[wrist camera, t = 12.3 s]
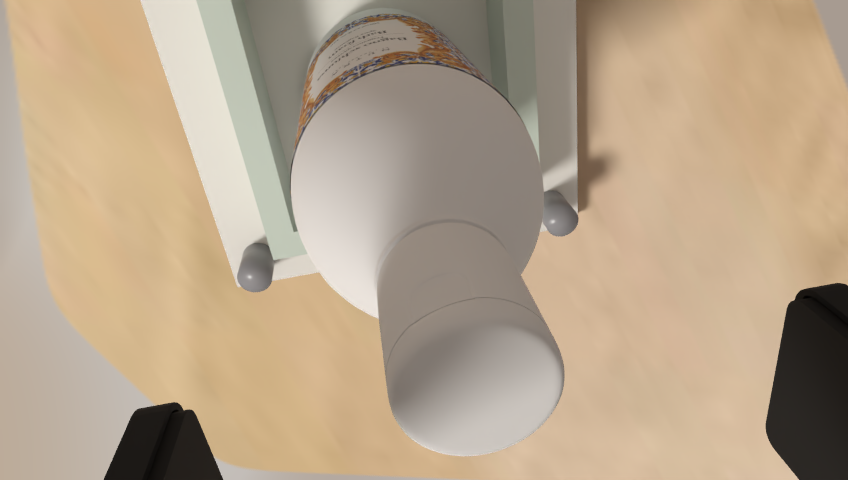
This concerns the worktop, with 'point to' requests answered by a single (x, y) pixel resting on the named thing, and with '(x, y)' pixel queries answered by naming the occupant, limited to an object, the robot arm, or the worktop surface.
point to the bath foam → (428, 227)
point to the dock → (283, 90)
